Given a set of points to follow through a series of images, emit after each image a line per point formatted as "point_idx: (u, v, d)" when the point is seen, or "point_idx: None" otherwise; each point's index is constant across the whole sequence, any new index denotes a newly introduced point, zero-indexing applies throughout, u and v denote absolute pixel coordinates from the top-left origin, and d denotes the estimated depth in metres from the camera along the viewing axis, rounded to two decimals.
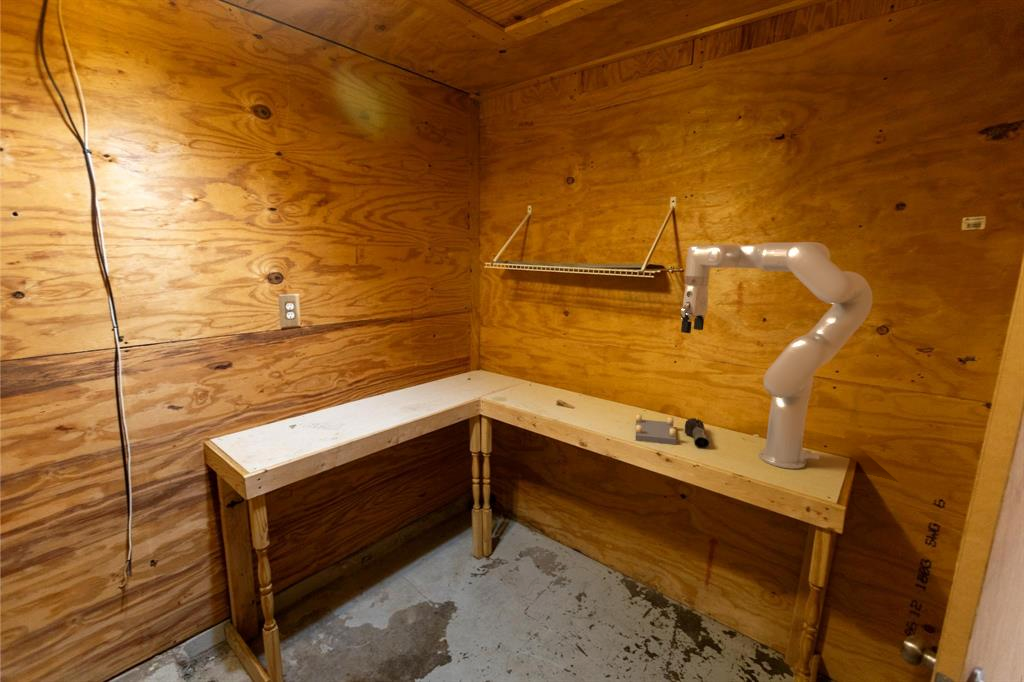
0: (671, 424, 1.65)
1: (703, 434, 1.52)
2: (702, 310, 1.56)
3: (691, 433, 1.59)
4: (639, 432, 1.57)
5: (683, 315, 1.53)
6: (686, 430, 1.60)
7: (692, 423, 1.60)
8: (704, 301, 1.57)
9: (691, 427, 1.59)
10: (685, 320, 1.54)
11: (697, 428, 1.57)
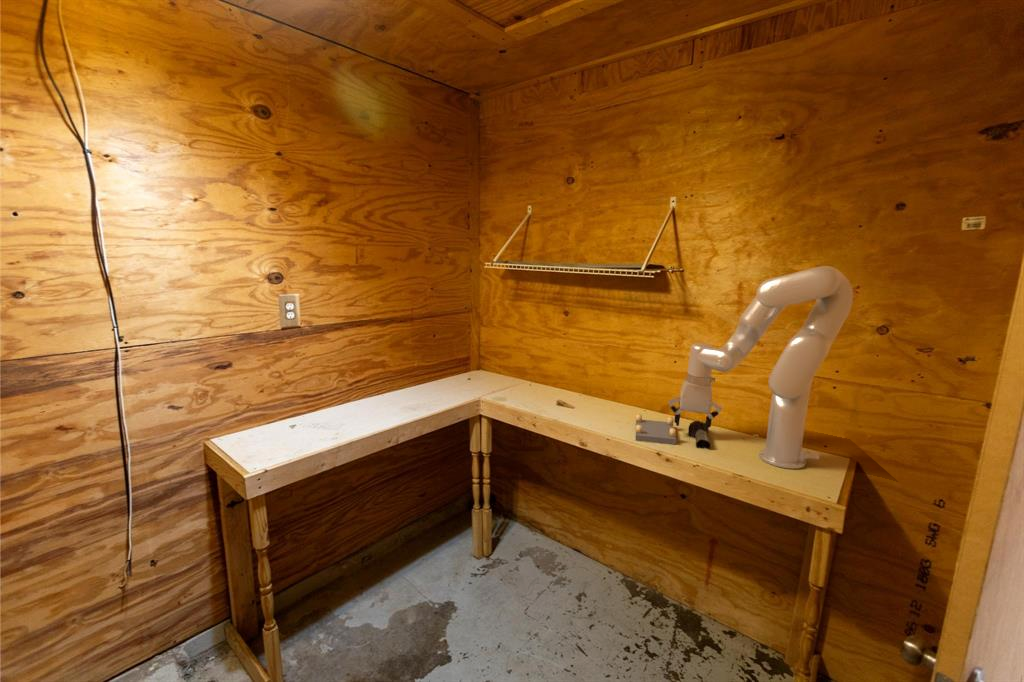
0: (671, 424, 1.65)
1: (705, 437, 1.52)
2: None
3: (694, 435, 1.59)
4: (639, 432, 1.57)
5: None
6: (689, 432, 1.60)
7: (696, 425, 1.60)
8: None
9: (694, 429, 1.59)
10: None
11: (700, 431, 1.57)
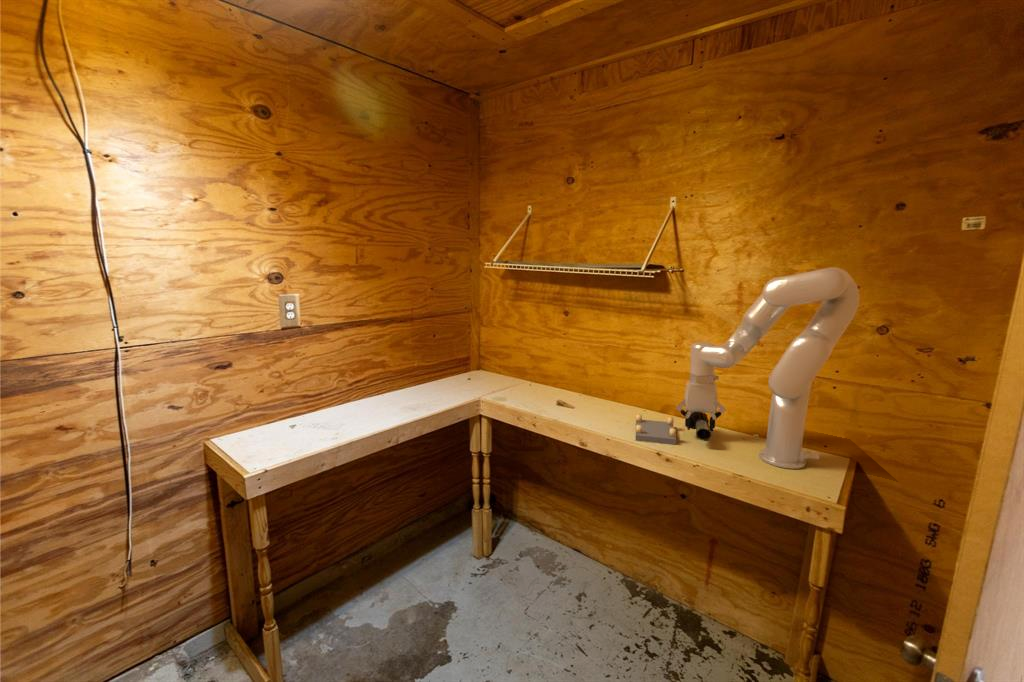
0: (671, 424, 1.65)
1: (705, 426, 1.51)
2: None
3: (694, 426, 1.58)
4: (639, 432, 1.57)
5: None
6: None
7: (695, 416, 1.59)
8: None
9: (694, 420, 1.58)
10: None
11: (700, 420, 1.56)
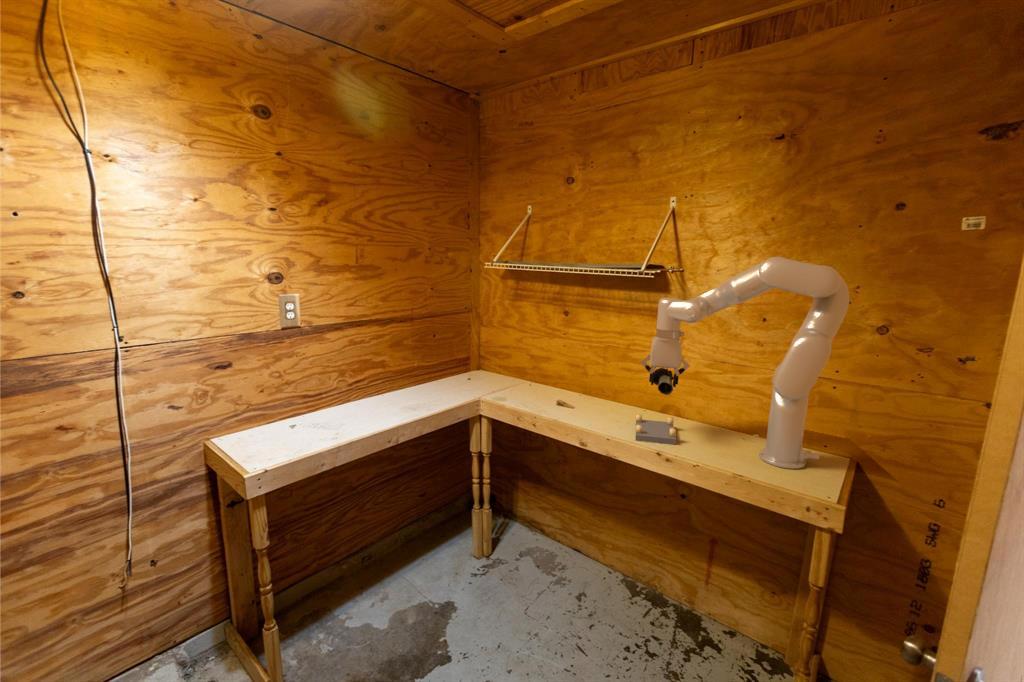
0: (671, 424, 1.65)
1: (667, 380, 1.52)
2: None
3: (658, 381, 1.59)
4: (639, 432, 1.57)
5: None
6: (654, 378, 1.61)
7: (660, 372, 1.60)
8: None
9: (658, 375, 1.59)
10: None
11: (664, 376, 1.57)
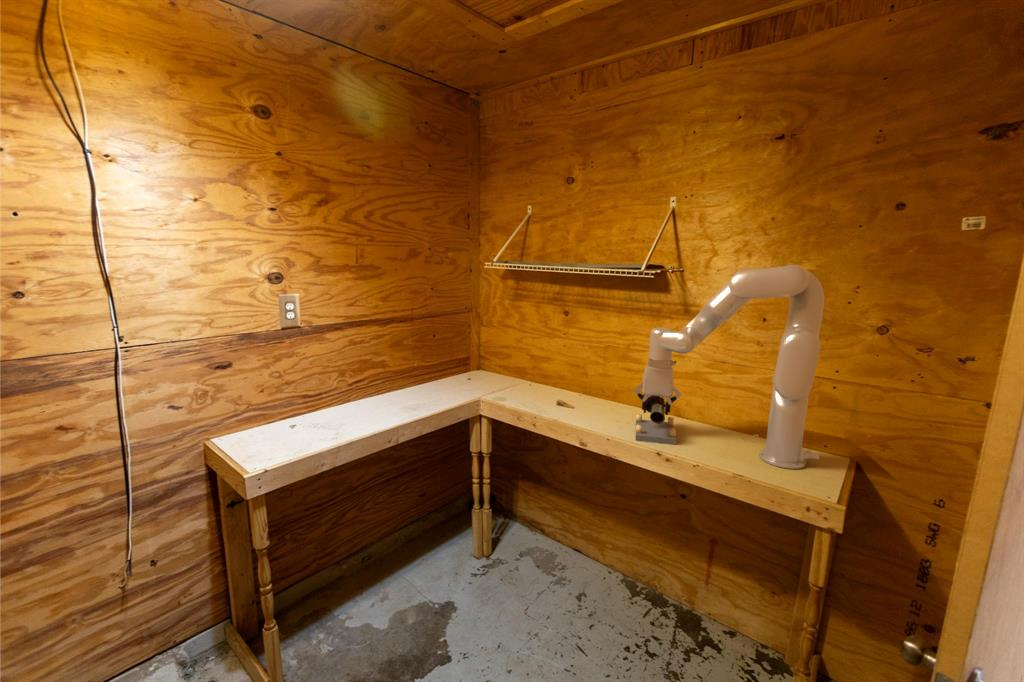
0: (671, 424, 1.65)
1: (659, 409, 1.54)
2: None
3: (650, 409, 1.61)
4: (639, 432, 1.57)
5: None
6: (646, 406, 1.63)
7: (652, 399, 1.62)
8: None
9: (651, 403, 1.62)
10: None
11: (656, 404, 1.59)
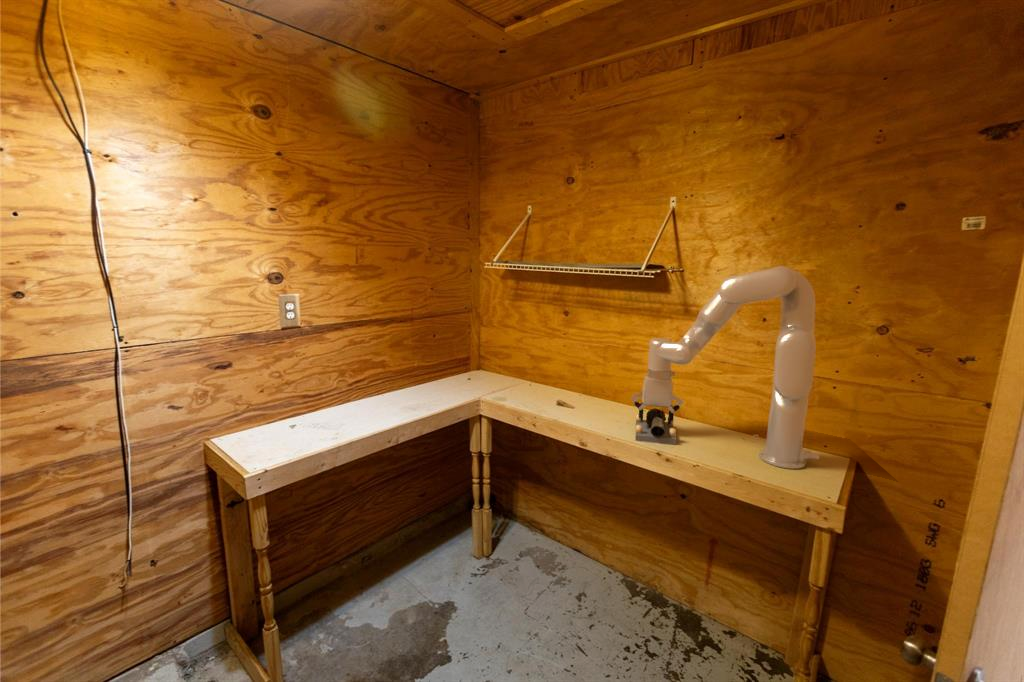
0: (671, 424, 1.65)
1: (660, 423, 1.55)
2: None
3: (651, 423, 1.62)
4: (639, 432, 1.57)
5: None
6: (647, 420, 1.64)
7: (653, 413, 1.63)
8: None
9: (651, 417, 1.63)
10: None
11: (656, 418, 1.60)
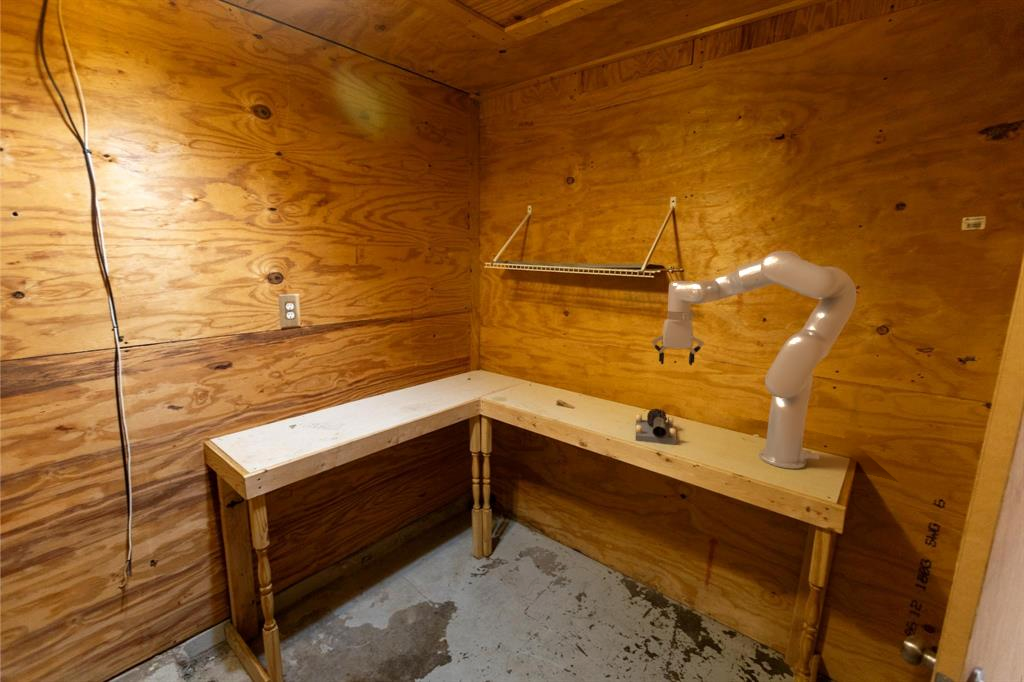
0: (671, 424, 1.65)
1: (662, 423, 1.55)
2: None
3: (652, 423, 1.62)
4: (639, 432, 1.57)
5: None
6: (648, 420, 1.64)
7: (654, 413, 1.63)
8: None
9: (652, 417, 1.62)
10: None
11: (658, 418, 1.60)
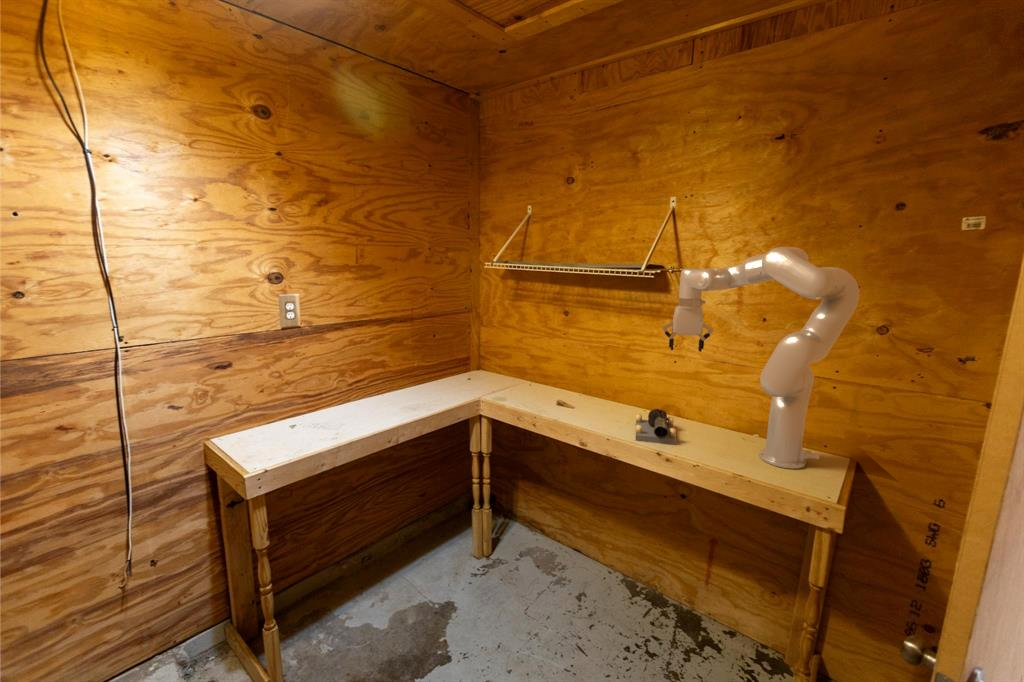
0: (671, 424, 1.65)
1: (663, 424, 1.55)
2: None
3: (653, 423, 1.61)
4: (639, 432, 1.57)
5: None
6: (649, 420, 1.63)
7: (655, 413, 1.63)
8: None
9: (654, 417, 1.62)
10: None
11: (659, 418, 1.60)
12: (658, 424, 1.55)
